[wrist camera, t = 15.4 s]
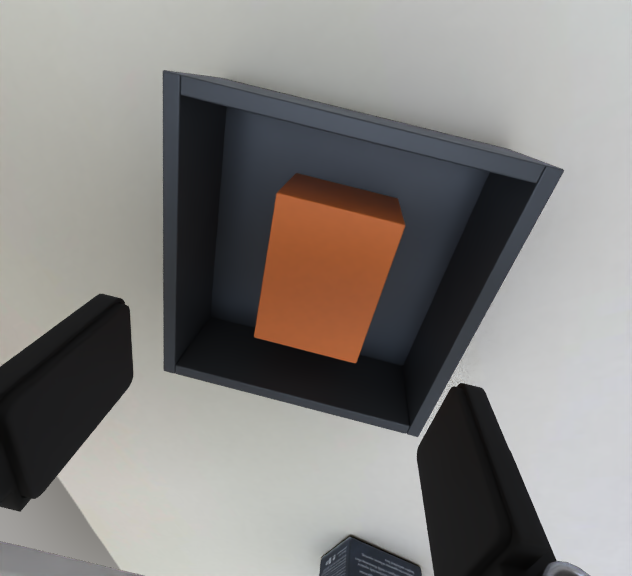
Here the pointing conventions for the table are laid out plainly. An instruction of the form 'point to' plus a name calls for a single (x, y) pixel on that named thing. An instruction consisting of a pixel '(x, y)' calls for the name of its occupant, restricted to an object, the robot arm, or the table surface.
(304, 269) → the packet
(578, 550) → the table surface
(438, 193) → the tray
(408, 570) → the box
